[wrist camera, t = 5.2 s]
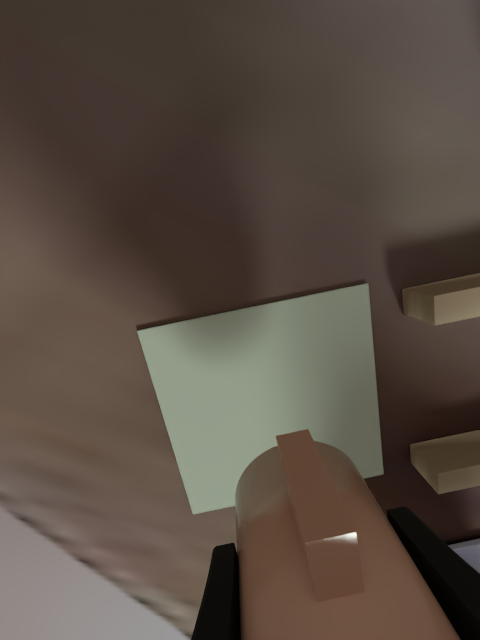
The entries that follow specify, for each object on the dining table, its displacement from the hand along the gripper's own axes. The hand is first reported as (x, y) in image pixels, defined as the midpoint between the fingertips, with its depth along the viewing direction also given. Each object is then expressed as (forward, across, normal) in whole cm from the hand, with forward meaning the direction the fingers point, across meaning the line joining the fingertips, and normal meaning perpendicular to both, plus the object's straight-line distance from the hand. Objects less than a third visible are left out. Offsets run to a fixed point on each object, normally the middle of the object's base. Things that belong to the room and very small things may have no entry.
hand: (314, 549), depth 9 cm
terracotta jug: (+2, 0, 0) cm, 2 cm away
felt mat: (+8, 0, 0) cm, 8 cm away
